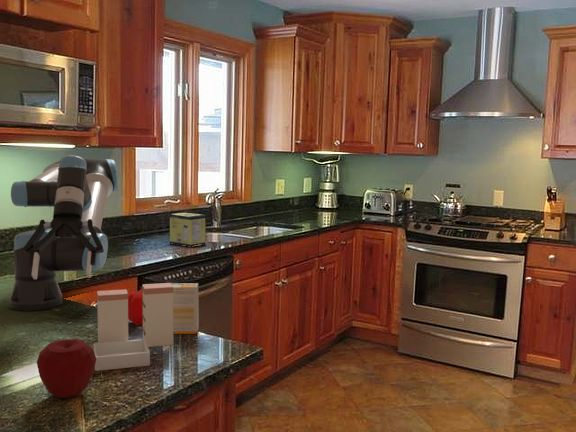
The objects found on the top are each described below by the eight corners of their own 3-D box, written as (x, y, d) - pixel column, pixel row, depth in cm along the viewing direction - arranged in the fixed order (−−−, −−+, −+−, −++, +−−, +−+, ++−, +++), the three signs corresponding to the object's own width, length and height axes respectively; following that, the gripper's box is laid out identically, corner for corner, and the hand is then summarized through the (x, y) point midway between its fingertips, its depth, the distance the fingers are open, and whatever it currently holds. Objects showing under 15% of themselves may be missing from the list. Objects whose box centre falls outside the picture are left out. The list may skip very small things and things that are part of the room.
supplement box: (199, 329, 160) (199, 282, 158) (196, 334, 155) (197, 287, 153) (169, 328, 159) (169, 282, 158) (165, 334, 155) (165, 286, 153)
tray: (93, 356, 138) (93, 343, 137) (145, 351, 142) (145, 339, 141) (94, 370, 129) (94, 357, 128) (149, 365, 133) (149, 352, 132)
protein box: (183, 241, 302) (184, 212, 300) (205, 245, 293) (206, 214, 291) (169, 244, 293) (169, 213, 292) (191, 247, 285) (191, 216, 283)
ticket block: (142, 341, 149) (142, 284, 147) (170, 338, 151) (170, 282, 149) (144, 347, 144) (144, 288, 143) (173, 344, 147) (173, 287, 145)
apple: (25, 401, 113) (24, 343, 112) (64, 380, 123) (63, 327, 122) (70, 411, 109) (69, 351, 108) (107, 389, 119) (106, 334, 118)
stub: (98, 345, 145) (97, 291, 143) (127, 343, 147) (126, 289, 146) (98, 351, 141) (97, 295, 139) (128, 348, 143) (127, 293, 141)
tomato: (130, 317, 169) (130, 282, 168) (173, 318, 169) (174, 284, 167) (118, 329, 158) (117, 292, 157) (164, 330, 158) (164, 294, 156)
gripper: (17, 199, 157) (6, 272, 147) (113, 199, 161) (108, 269, 151) (25, 213, 163) (14, 283, 153) (116, 212, 167) (112, 280, 157)
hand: (61, 276), depth 152 cm, fingers open, 13 cm apart
